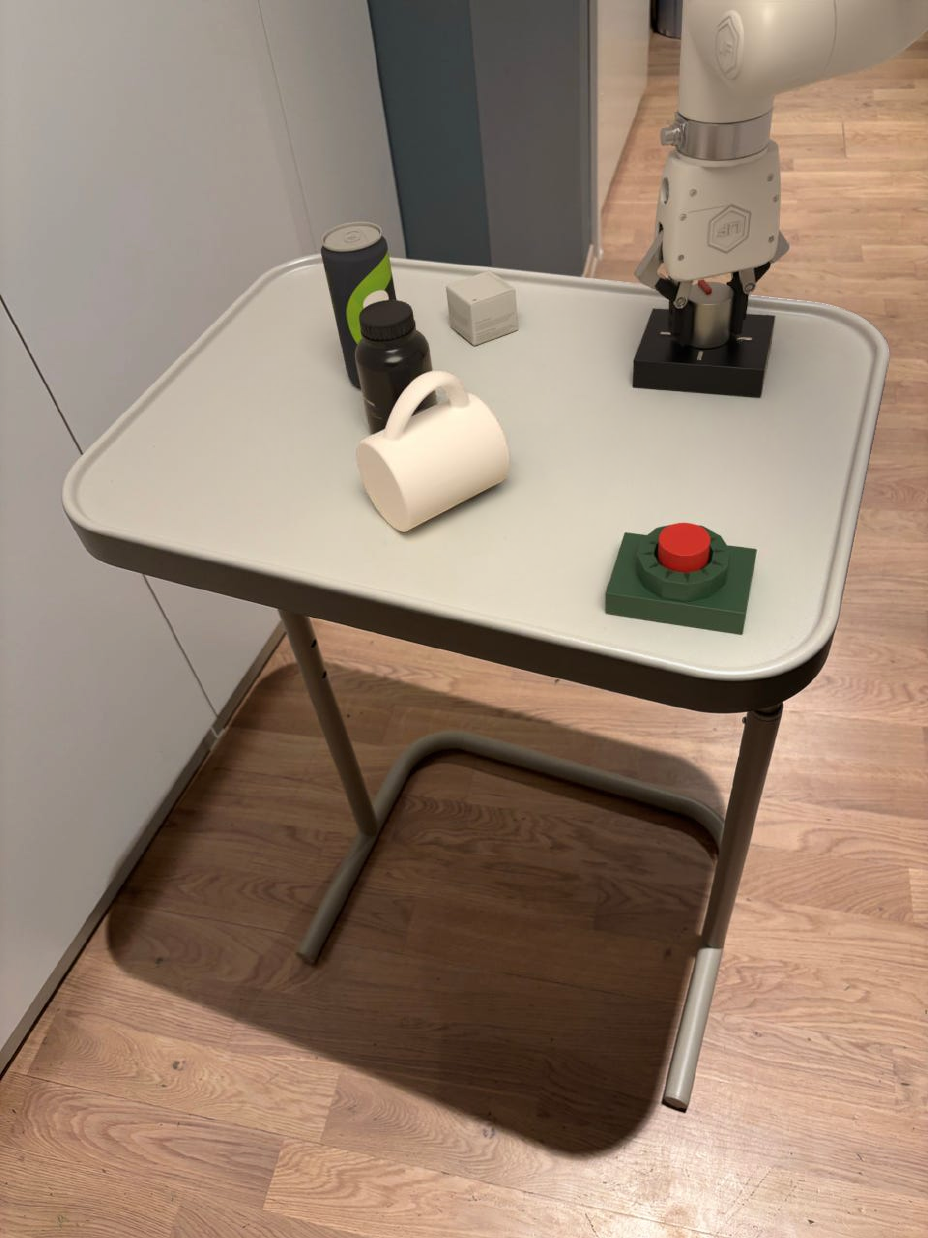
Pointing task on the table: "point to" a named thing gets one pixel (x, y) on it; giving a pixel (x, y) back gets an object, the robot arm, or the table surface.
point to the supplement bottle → (390, 359)
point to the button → (684, 547)
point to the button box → (681, 585)
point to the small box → (482, 307)
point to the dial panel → (704, 359)
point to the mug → (432, 453)
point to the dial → (710, 314)
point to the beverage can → (355, 280)
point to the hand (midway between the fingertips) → (705, 331)
